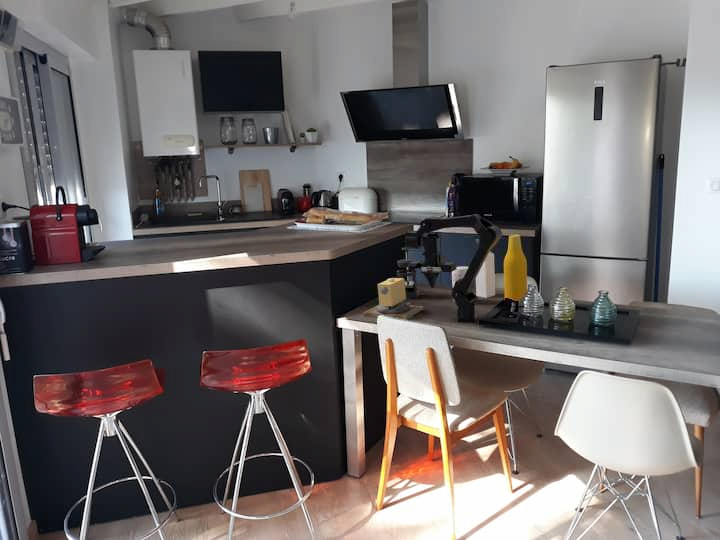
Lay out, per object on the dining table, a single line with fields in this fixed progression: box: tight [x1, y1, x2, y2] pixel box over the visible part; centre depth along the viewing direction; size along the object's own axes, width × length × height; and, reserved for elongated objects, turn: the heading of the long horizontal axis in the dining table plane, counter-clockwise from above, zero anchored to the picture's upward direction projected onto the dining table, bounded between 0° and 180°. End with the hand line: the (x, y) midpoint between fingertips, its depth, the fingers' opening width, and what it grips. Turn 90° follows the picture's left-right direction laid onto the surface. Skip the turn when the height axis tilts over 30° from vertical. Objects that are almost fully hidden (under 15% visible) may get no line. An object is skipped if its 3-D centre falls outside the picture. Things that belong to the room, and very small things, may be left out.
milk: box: [475, 250, 496, 299], centre depth 253 cm, size 6×6×22 cm
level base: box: [362, 301, 425, 320], centre depth 239 cm, size 20×16×4 cm
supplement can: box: [451, 265, 469, 302], centre depth 247 cm, size 8×8×15 cm
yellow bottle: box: [503, 234, 528, 301], centre depth 235 cm, size 9×9×29 cm
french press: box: [395, 247, 420, 300], centre depth 262 cm, size 12×9×23 cm
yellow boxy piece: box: [377, 277, 407, 306], centre depth 237 cm, size 6×13×10 cm, turn 147°
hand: (432, 287), depth 227 cm, fingers closed
